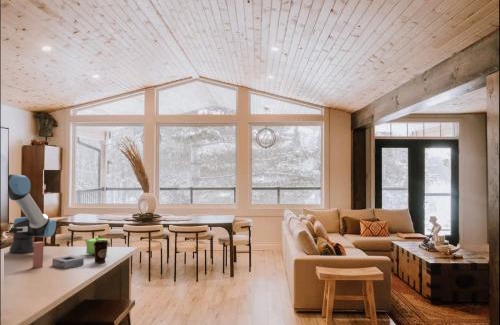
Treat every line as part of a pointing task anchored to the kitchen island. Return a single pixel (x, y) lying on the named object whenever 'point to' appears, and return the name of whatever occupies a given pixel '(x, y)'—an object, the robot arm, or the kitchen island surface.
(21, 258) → the kitchen island surface
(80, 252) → the kitchen island surface
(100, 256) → the coffee cup
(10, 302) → the kitchen island surface
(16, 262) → the kitchen island surface
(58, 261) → the grey square frame
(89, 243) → the kettle
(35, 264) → the wedge pin
